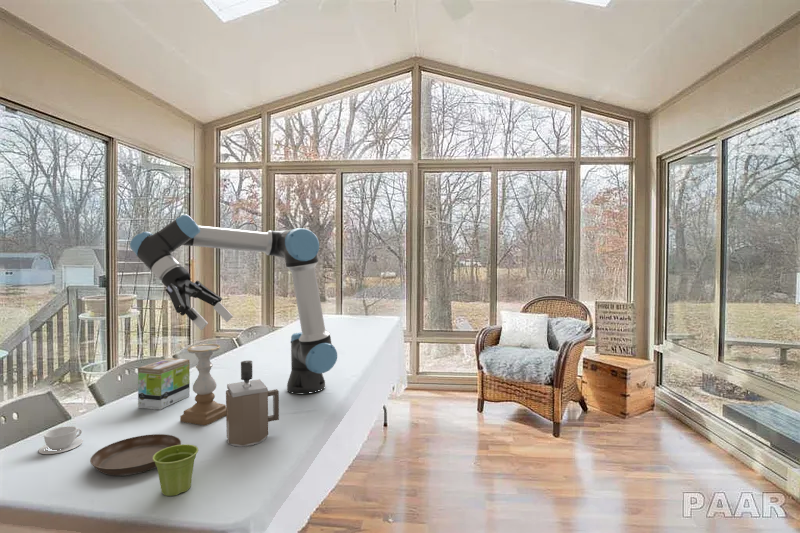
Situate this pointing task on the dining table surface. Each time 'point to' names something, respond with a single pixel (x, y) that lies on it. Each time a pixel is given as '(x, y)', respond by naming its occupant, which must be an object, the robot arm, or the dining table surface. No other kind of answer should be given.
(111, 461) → the plant saucer
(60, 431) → the teacup
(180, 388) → the tea box
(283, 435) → the dining table surface
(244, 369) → the plunger
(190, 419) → the candle holder
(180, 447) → the plant pot
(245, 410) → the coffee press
